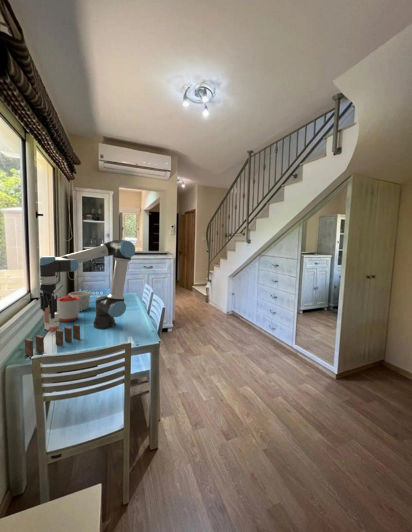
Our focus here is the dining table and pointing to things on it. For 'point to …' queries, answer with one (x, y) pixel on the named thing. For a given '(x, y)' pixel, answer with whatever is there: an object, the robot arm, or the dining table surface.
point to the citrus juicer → (68, 308)
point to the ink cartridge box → (53, 326)
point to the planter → (82, 299)
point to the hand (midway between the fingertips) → (49, 322)
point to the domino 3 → (47, 315)
